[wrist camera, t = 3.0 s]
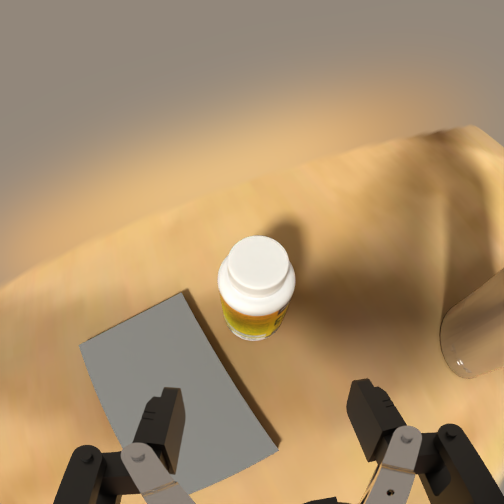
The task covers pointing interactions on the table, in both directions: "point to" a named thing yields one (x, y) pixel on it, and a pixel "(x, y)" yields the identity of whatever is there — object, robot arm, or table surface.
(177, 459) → the robot arm
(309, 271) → the table surface
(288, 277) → the supplement bottle
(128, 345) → the mat
